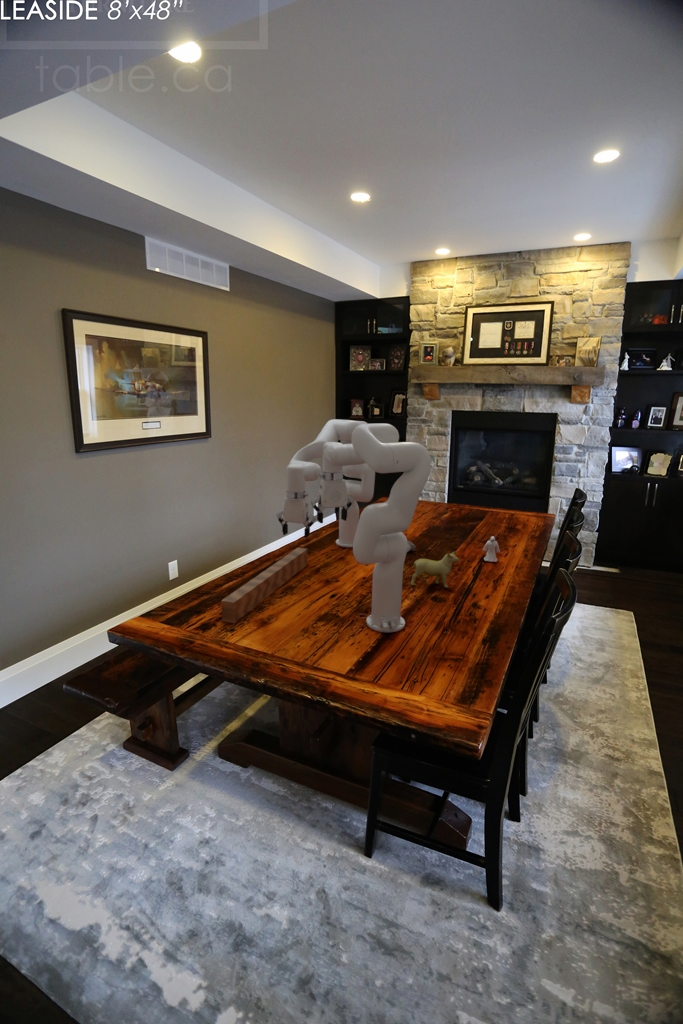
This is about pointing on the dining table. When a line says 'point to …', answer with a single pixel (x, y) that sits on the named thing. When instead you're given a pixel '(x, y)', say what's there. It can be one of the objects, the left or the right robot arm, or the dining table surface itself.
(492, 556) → the figurine
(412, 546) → the seashell
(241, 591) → the beam
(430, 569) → the toy
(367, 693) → the dining table surface
